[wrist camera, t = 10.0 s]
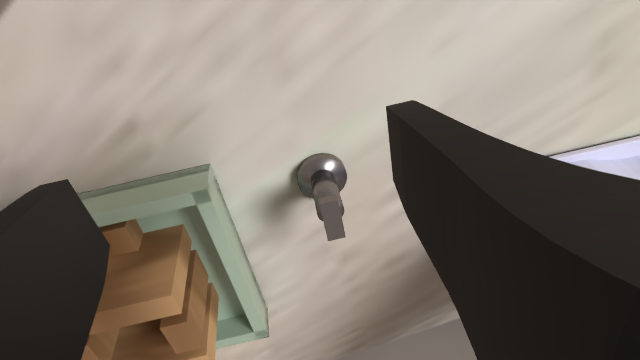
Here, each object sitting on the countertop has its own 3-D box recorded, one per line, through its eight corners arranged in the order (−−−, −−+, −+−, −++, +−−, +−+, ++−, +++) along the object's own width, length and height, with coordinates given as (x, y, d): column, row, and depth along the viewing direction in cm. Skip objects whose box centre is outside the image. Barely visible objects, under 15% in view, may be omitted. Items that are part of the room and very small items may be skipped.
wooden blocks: (172, 200, 21) (156, 271, 17) (218, 296, 25) (214, 369, 21) (55, 227, 21) (15, 303, 17) (122, 318, 25) (100, 395, 21)
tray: (209, 163, 20) (206, 188, 19) (267, 308, 27) (269, 336, 25) (0, 211, 20) (-21, 241, 19) (108, 345, 27) (99, 376, 25)
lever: (341, 148, 21) (355, 190, 18) (348, 188, 22) (362, 233, 20) (292, 159, 21) (299, 203, 18) (302, 199, 22) (310, 244, 20)
